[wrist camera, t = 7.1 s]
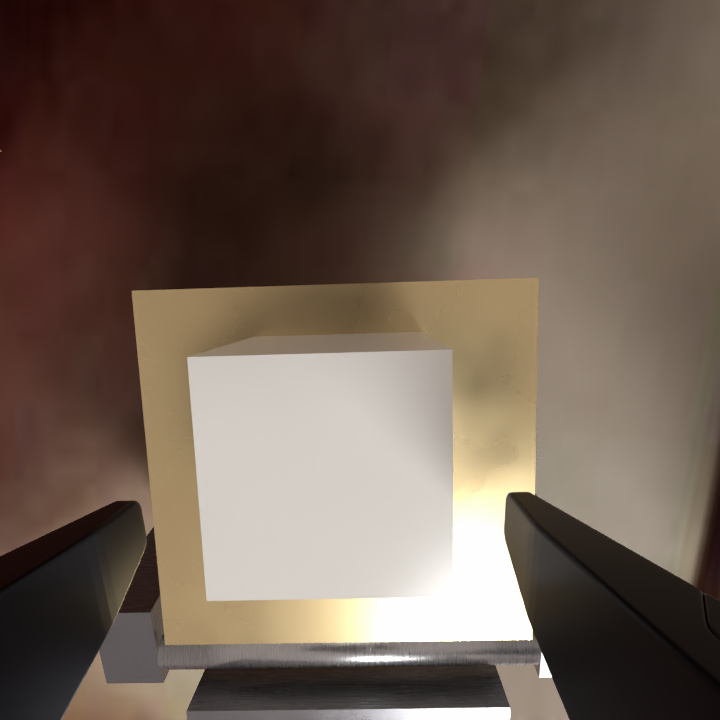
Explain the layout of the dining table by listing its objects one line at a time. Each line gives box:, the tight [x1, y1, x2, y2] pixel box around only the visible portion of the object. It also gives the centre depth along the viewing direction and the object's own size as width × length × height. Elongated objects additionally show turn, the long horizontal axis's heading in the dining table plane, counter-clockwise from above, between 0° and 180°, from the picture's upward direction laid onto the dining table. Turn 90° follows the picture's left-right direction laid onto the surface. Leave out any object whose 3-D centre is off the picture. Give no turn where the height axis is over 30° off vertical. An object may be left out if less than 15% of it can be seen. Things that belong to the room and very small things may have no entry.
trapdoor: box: [132, 278, 540, 720], centre depth 15 cm, size 12×19×3 cm, turn 2°
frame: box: [99, 494, 552, 683], centre depth 19 cm, size 17×3×8 cm, turn 92°
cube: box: [187, 332, 453, 601], centre depth 11 cm, size 5×5×5 cm
